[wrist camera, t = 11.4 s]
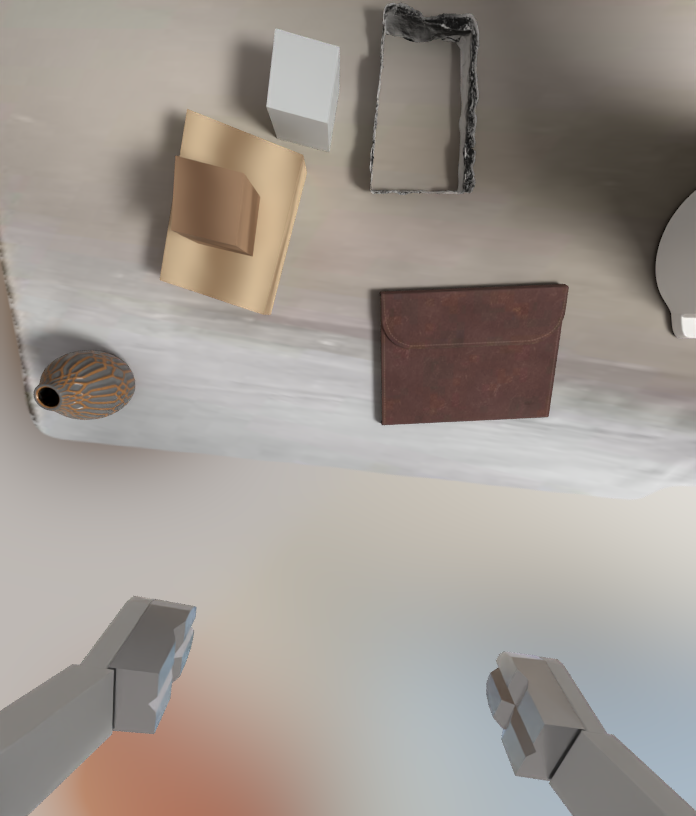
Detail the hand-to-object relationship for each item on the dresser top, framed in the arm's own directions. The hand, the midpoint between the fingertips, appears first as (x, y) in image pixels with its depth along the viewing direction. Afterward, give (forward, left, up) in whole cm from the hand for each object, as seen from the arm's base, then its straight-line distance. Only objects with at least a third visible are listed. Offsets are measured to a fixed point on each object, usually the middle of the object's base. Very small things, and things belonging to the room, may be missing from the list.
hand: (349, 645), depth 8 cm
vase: (+25, +4, -31) cm, 40 cm away
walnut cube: (+13, -14, -27) cm, 33 cm away
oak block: (+13, -14, -31) cm, 36 cm away
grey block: (+8, -25, -30) cm, 40 cm away
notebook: (-13, -6, -31) cm, 34 cm away
